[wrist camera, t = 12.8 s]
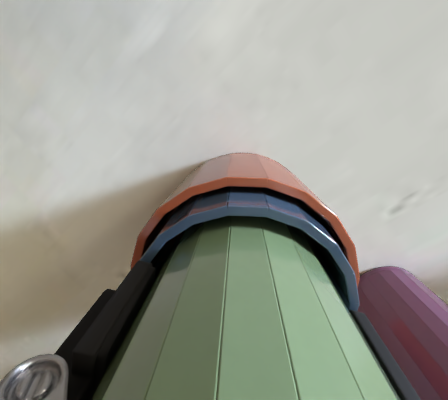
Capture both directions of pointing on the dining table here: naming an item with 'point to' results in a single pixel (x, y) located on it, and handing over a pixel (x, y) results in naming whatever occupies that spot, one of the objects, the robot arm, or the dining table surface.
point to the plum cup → (409, 326)
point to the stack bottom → (245, 177)
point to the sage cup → (243, 324)
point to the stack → (258, 207)
